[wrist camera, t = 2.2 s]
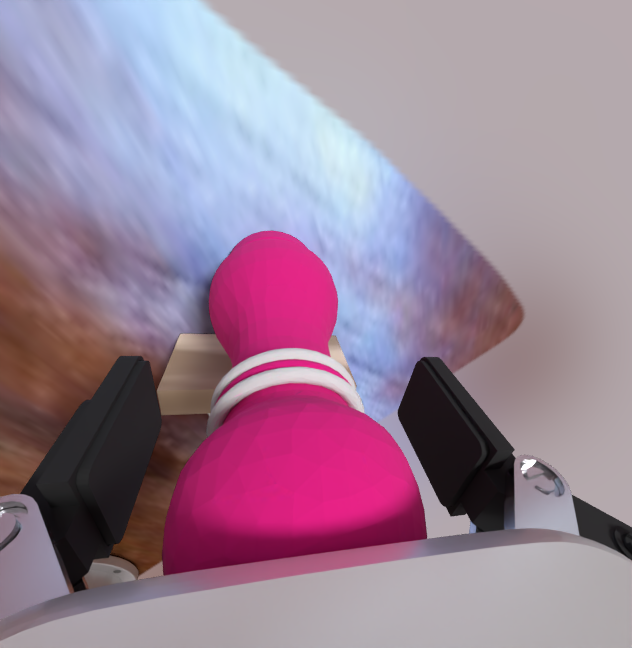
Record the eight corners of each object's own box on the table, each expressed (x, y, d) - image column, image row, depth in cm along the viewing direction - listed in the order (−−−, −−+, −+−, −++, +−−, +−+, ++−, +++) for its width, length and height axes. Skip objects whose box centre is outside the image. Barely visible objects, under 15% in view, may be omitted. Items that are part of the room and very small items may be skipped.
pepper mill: (308, 325, 23) (441, 797, 6) (213, 311, 21) (44, 945, 4) (334, 236, 20) (760, 736, 3) (224, 209, 18) (-309, 1243, 1)
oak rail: (332, 355, 25) (350, 407, 20) (183, 355, 23) (161, 415, 18) (335, 335, 24) (356, 385, 19) (180, 333, 22) (156, 390, 17)
